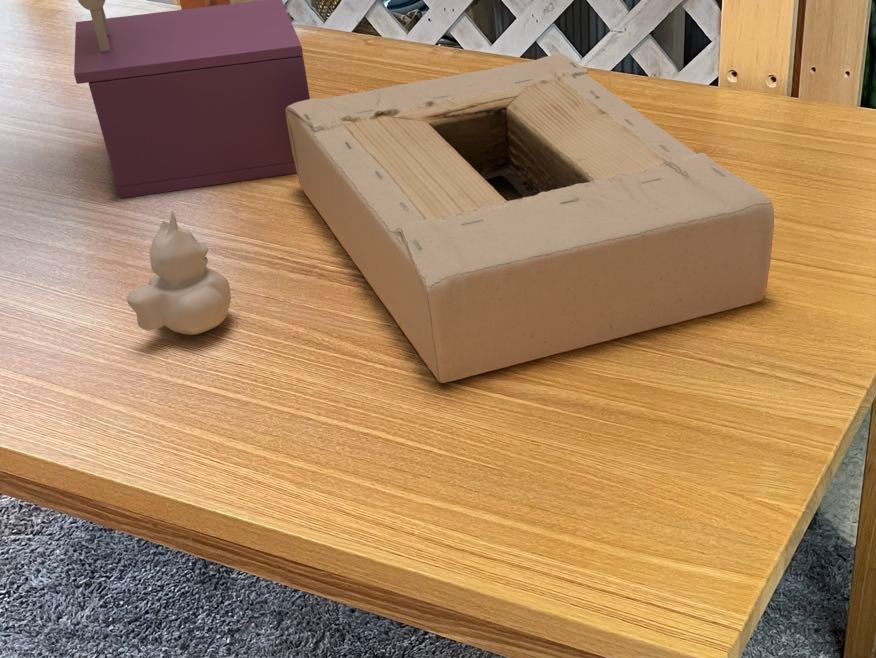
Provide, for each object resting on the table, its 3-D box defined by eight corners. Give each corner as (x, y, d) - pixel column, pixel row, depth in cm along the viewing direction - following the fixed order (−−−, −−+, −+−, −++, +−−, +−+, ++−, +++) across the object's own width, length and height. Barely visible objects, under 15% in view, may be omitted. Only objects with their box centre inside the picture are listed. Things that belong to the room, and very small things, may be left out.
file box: (120, 198, 92) (88, 83, 86) (117, 138, 101) (88, 31, 95) (321, 169, 95) (303, 56, 89) (300, 114, 104) (283, 8, 98)
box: (292, 193, 92) (437, 392, 69) (276, 93, 87) (426, 272, 64) (560, 141, 99) (771, 306, 77) (559, 46, 94) (784, 192, 72)
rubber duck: (254, 327, 76) (229, 211, 71) (162, 365, 73) (129, 247, 68) (212, 298, 79) (185, 184, 74) (122, 333, 76) (87, 218, 71)
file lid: (76, 84, 86) (53, 0, 82) (78, 31, 95) (56, -46, 91) (303, 56, 89) (290, -26, 85) (282, 8, 98) (270, -68, 95)
